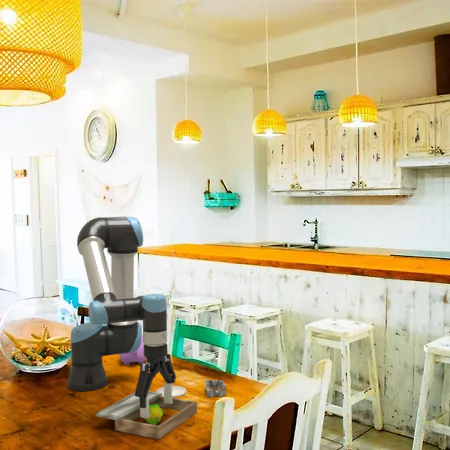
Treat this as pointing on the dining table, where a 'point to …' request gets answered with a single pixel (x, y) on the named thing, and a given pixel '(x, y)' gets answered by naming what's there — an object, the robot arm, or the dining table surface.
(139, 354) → the piggy bank
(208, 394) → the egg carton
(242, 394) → the dining table surface
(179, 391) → the saucer
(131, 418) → the cold frame
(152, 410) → the green faceted lump
